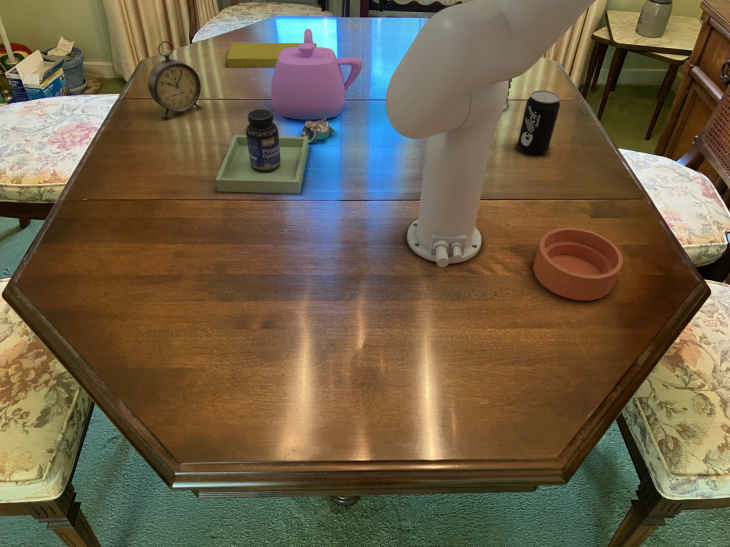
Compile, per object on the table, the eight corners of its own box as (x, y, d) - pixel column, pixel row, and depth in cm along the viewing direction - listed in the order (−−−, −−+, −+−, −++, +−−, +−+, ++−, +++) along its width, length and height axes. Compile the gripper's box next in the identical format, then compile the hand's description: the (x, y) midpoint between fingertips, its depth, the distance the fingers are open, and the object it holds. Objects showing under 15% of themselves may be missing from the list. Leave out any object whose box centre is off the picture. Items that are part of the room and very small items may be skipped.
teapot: (362, 125, 126) (363, 59, 116) (269, 125, 125) (262, 58, 115) (359, 84, 143) (360, 24, 133) (278, 84, 142) (272, 23, 132)
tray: (299, 193, 104) (298, 182, 103) (217, 191, 104) (215, 179, 103) (308, 147, 118) (308, 136, 116) (235, 145, 118) (234, 134, 116)
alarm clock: (163, 123, 125) (145, 50, 114) (152, 114, 128) (134, 43, 117) (206, 109, 130) (193, 39, 119) (195, 101, 133) (181, 32, 122)
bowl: (623, 303, 84) (634, 279, 80) (542, 301, 84) (550, 276, 81) (599, 251, 93) (608, 228, 90) (525, 249, 93) (532, 226, 90)
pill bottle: (267, 176, 108) (261, 124, 100) (243, 167, 110) (236, 116, 103) (287, 163, 111) (283, 112, 104) (263, 155, 114) (258, 104, 106)
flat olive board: (227, 66, 150) (316, 66, 151) (226, 58, 149) (315, 58, 150) (233, 50, 159) (316, 50, 160) (232, 42, 158) (316, 43, 159)
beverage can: (548, 158, 116) (563, 104, 108) (516, 154, 117) (529, 101, 109) (547, 143, 121) (561, 91, 113) (516, 140, 122) (528, 87, 114)
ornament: (319, 125, 125) (319, 110, 123) (340, 136, 122) (340, 120, 119) (292, 136, 121) (291, 121, 119) (312, 148, 117) (311, 132, 115)
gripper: (291, -111, 79) (299, 15, 90) (411, -110, 79) (404, 16, 90) (296, -117, 85) (303, 3, 96) (408, -116, 85) (402, 3, 96)
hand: (352, 9), depth 93 cm, fingers open, 9 cm apart
